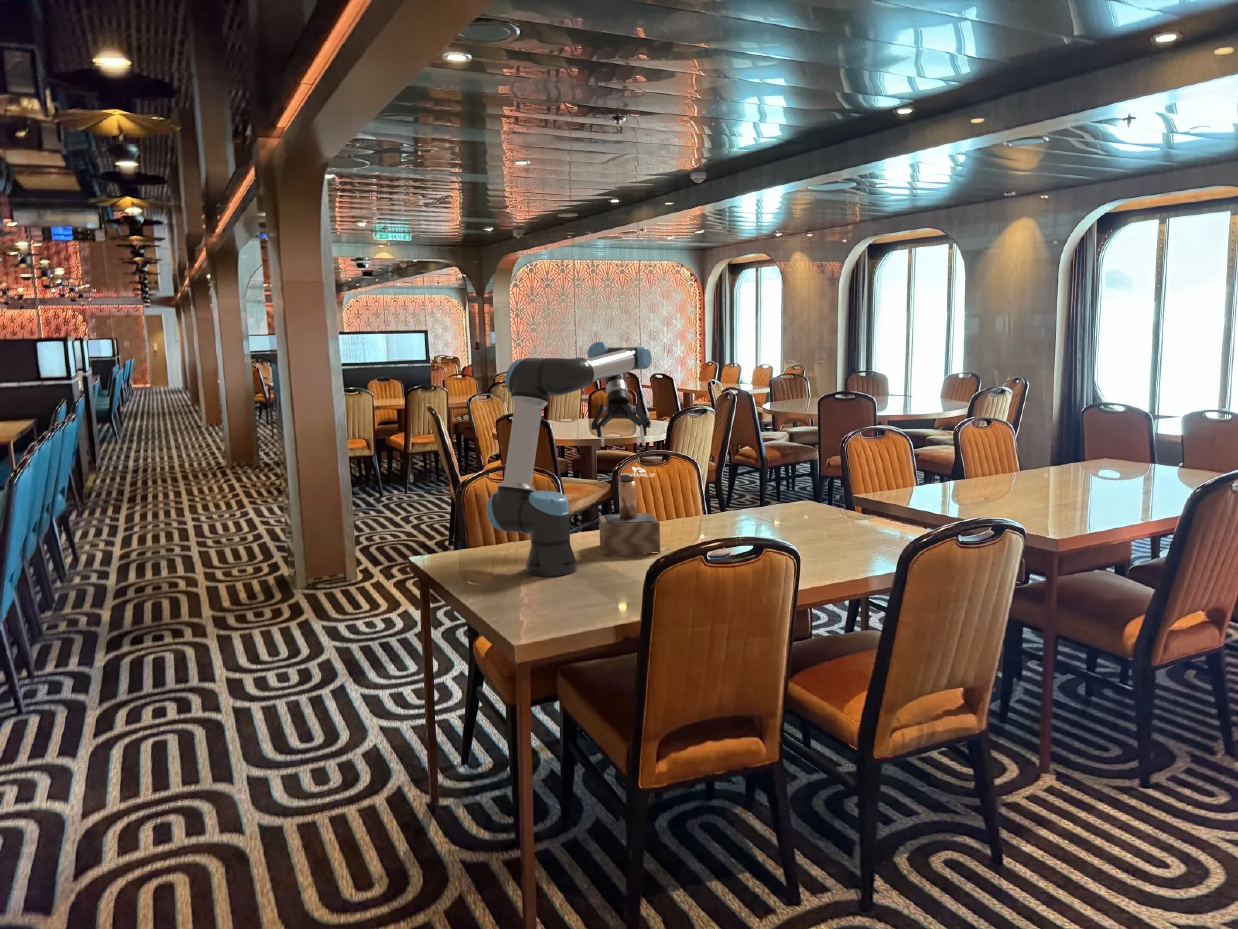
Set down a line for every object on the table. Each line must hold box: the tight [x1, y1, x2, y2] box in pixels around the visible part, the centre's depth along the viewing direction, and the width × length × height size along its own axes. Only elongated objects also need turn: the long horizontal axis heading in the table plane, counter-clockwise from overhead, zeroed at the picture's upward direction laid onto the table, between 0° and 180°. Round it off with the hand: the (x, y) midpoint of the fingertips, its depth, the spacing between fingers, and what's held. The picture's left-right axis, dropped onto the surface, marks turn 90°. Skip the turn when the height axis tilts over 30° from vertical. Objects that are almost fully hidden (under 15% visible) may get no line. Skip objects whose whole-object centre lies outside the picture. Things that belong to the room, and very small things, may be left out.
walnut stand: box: [598, 512, 661, 557], centre depth 284 cm, size 18×16×10 cm
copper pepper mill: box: [618, 473, 638, 519], centre depth 282 cm, size 6×6×14 cm
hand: (623, 443), depth 290 cm, fingers open, 13 cm apart
